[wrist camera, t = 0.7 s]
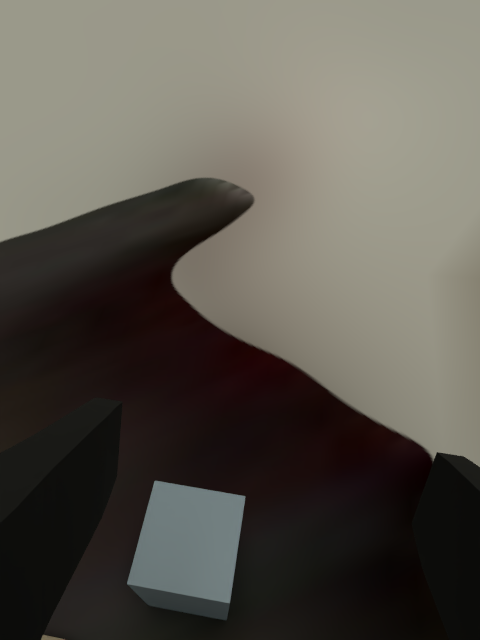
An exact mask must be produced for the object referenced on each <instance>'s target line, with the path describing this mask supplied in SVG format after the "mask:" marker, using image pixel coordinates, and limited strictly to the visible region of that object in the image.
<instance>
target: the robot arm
mask: <svg viewBox="0 0 480 640" xmlns="http://www.w3.org/2000/svg"><path fill="white" fill-rule="evenodd" d="M121 415H122V402H121V401H114V400H108V399H102V398H94V399H92V400H91V401H89V402H87V403H86V404H84V405H82V406H81V407H79V408H77V409H76V410H74V411H73V412H71V413H69V414H68V415H66V416H65V417H63V418H61V419H60V420H58V421H56V422H55V423H53V424H51V425H50V426H48V427H46V428H45V429H43V430H41V431H40V432H38V433H36V434H35V435H33V436H31V437H29V438H28V439H26V440H24V441H22V442H20V443H18V444H16V445H15V446H13V447H11V448H9V449H7V450H5V451H3V452H1V453H0V640H41V638H42V636H43V634H44V631H45V629H46V627H47V625H48V623H49V621H50V619H51V616H52V614H53V612H54V610H55V608H56V606H57V604H58V602H59V601H60V599H61V597H62V595H63V593H64V591H65V589H66V587H67V585H68V583H69V581H70V579H71V577H72V575H73V573H74V571H75V569H76V567H77V565H78V563H79V561H80V560H81V558H82V556H83V554H84V552H85V550H86V548H87V546H88V544H89V542H90V540H91V538H92V536H93V534H94V532H95V530H96V528H97V526H98V524H99V522H100V520H101V518H102V516H103V513H104V510H105V508H106V505H107V502H108V500H109V497H110V494H111V491H112V488H113V486H114V483H115V480H116V477H117V467H118V454H119V441H120V428H121ZM412 527H413V531H414V536H415V540H416V545H417V549H418V553H419V557H420V561H421V565H422V568H423V571H424V574H425V577H426V579H427V582H428V585H429V587H430V590H431V593H432V595H433V598H434V601H435V603H436V606H437V609H438V611H439V614H440V616H441V619H442V622H443V624H444V627H445V629H446V632H447V635H448V637H449V640H480V467H478V466H477V465H476V464H474V463H473V462H471V461H470V460H468V459H467V458H465V457H463V456H457V455H450V454H444V453H438V452H437V454H436V456H435V459H434V462H433V465H432V468H431V471H430V473H429V476H428V479H427V482H426V485H425V488H424V490H423V493H422V496H421V499H420V502H419V505H418V507H417V510H416V513H415V516H414V519H413V522H412Z"/></svg>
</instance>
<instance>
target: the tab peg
mask: <svg viewBox="0 0 480 640" xmlns="http://www.w3.org/2000/svg"><path fill="white" fill-rule="evenodd" d="M244 503H245V496H240V495H234V494H229V493H223V492H217V491H211V490H205V489H200V488H194V487H188V486H182V485H177V484H171V483H165V482H159V481H155V482H154V486H153V490H152V493H151V497H150V501H149V504H148V508H147V512H146V516H145V519H144V523H143V527H142V530H141V534H140V538H139V542H138V545H137V549H136V553H135V556H134V560H133V564H132V568H131V571H130V575H129V579H128V582H127V584H128V585H129V586H130V587H131V588H132V590H133V591H134V592H135V593H136V594H137V595H138V596H139V597H140V598H141V599H142V600H143V601H144V602H145V603H146V604H147V605H148V606H153V607H158V608H164V609H169V610H174V611H179V612H185V613H190V614H195V615H200V616H206V617H211V618H216V619H221V620H227V616H228V610H229V605H230V598H231V592H232V585H233V578H234V571H235V564H236V557H237V550H238V544H239V537H240V530H241V523H242V516H243V509H244Z"/></svg>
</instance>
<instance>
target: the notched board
mask: <svg viewBox="0 0 480 640" xmlns="http://www.w3.org/2000/svg"><path fill="white" fill-rule="evenodd" d="M41 640H66V639H61V638H56V637H51V636H46V635H43V636H42V638H41Z"/></svg>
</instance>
